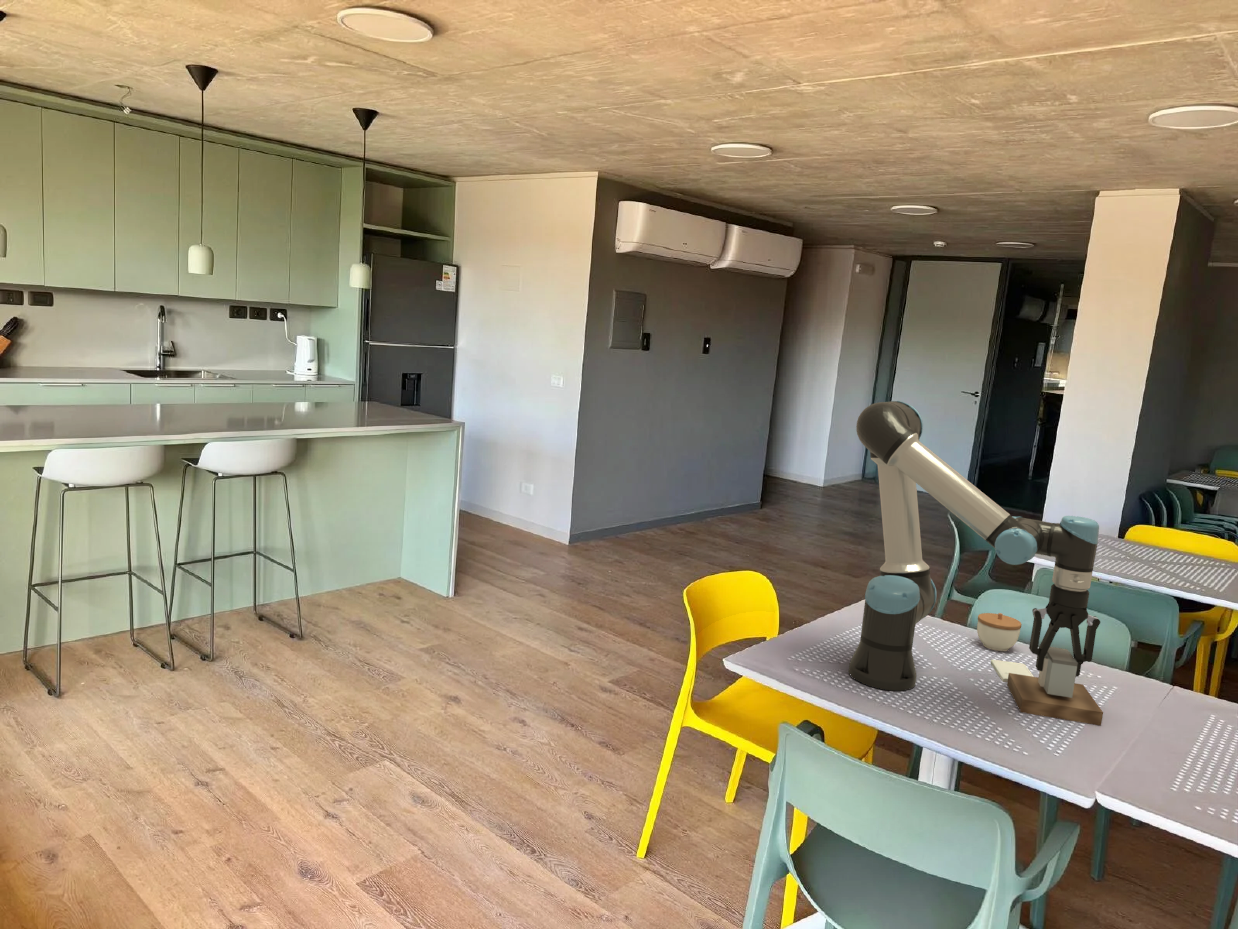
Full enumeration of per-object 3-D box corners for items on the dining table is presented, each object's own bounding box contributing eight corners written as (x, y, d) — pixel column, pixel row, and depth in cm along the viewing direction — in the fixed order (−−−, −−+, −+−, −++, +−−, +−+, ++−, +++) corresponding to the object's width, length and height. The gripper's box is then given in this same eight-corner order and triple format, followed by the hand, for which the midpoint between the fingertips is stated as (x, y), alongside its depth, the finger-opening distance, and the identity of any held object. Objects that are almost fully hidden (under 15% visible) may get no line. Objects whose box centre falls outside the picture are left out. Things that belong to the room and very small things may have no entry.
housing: (1047, 694, 188) (1052, 659, 187) (1038, 679, 197) (1043, 645, 195) (1072, 697, 187) (1077, 663, 186) (1061, 682, 195) (1067, 649, 194)
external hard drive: (1024, 670, 215) (1038, 689, 203) (990, 665, 216) (1002, 684, 204) (1025, 663, 214) (1039, 682, 202) (990, 659, 216) (1003, 677, 204)
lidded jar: (965, 641, 231) (970, 608, 230) (993, 638, 235) (998, 606, 234) (997, 656, 221) (1002, 621, 220) (1026, 652, 226) (1031, 618, 225)
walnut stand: (1020, 712, 187) (1022, 699, 186) (1007, 685, 202) (1008, 672, 202) (1100, 725, 183) (1103, 712, 182) (1080, 696, 198) (1082, 684, 198)
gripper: (1030, 585, 187) (1014, 686, 190) (1121, 597, 183) (1103, 700, 186) (1023, 576, 194) (1008, 674, 198) (1110, 588, 190) (1094, 687, 193)
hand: (1054, 686), depth 192 cm, fingers closed on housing, 5 cm apart
